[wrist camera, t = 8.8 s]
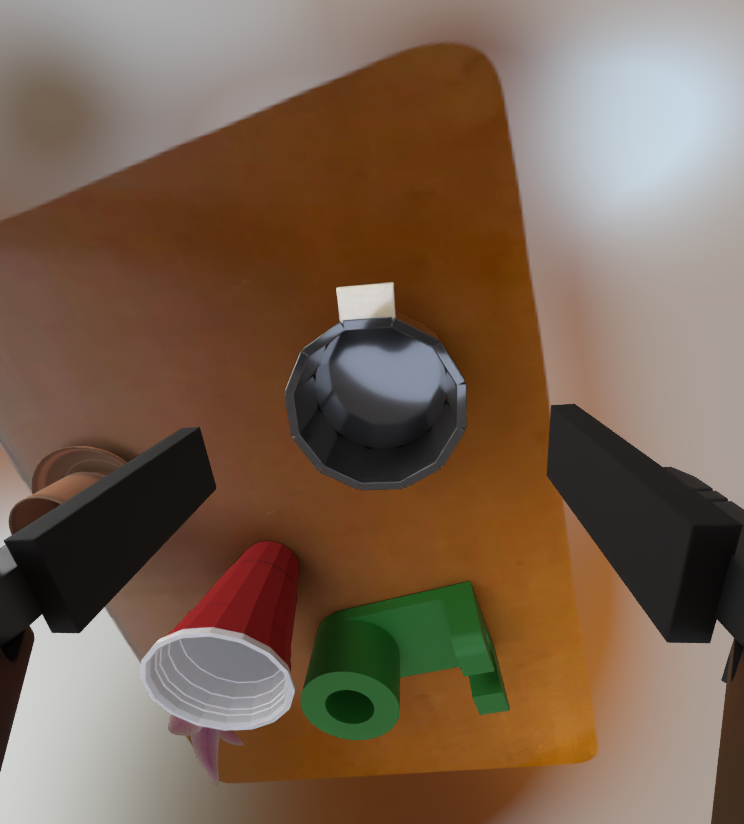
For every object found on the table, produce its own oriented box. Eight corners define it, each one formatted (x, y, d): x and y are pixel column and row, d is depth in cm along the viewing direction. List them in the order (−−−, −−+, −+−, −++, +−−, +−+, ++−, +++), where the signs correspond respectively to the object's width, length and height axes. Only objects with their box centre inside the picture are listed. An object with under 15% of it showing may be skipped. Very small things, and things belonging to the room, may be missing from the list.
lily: (177, 606, 40) (100, 707, 34) (251, 643, 35) (176, 772, 28) (230, 649, 47) (174, 739, 41) (299, 685, 42) (248, 796, 35)
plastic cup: (275, 622, 39) (222, 761, 27) (200, 556, 36) (108, 677, 25) (349, 574, 36) (324, 707, 24) (272, 499, 34) (205, 607, 22)
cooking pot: (454, 448, 29) (466, 487, 23) (319, 453, 30) (300, 492, 24) (452, 278, 25) (466, 275, 19) (296, 292, 26) (267, 293, 20)
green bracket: (335, 677, 40) (324, 745, 34) (303, 619, 38) (284, 681, 32) (494, 647, 37) (512, 717, 31) (470, 581, 35) (484, 643, 29)
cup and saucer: (168, 558, 37) (124, 608, 31) (55, 529, 37) (-10, 574, 31) (173, 456, 33) (123, 492, 27) (46, 424, 33) (-30, 453, 27)
